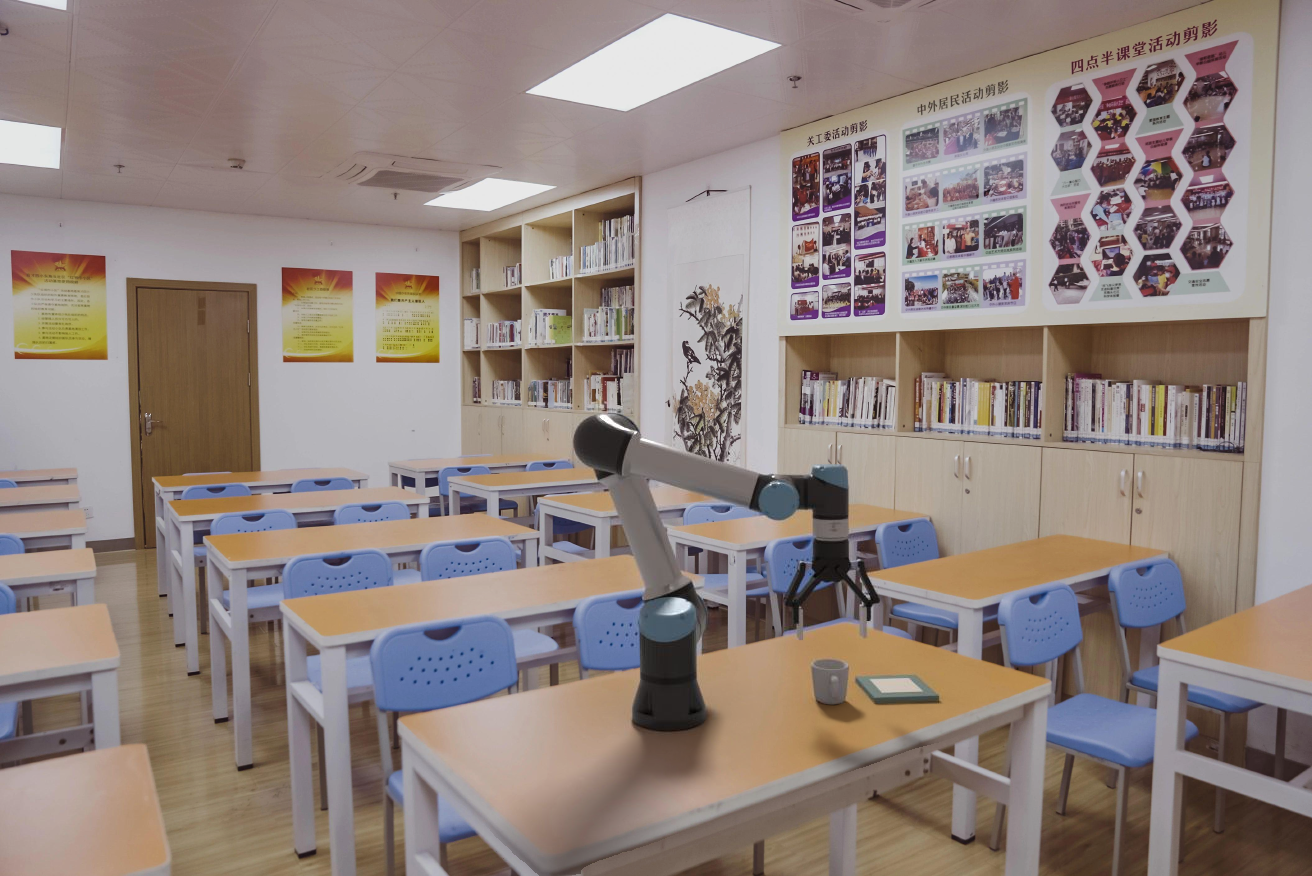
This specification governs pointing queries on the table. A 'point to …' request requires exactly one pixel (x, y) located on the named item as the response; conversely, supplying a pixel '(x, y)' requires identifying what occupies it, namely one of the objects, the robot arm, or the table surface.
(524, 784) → the table surface
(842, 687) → the cup
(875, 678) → the board
